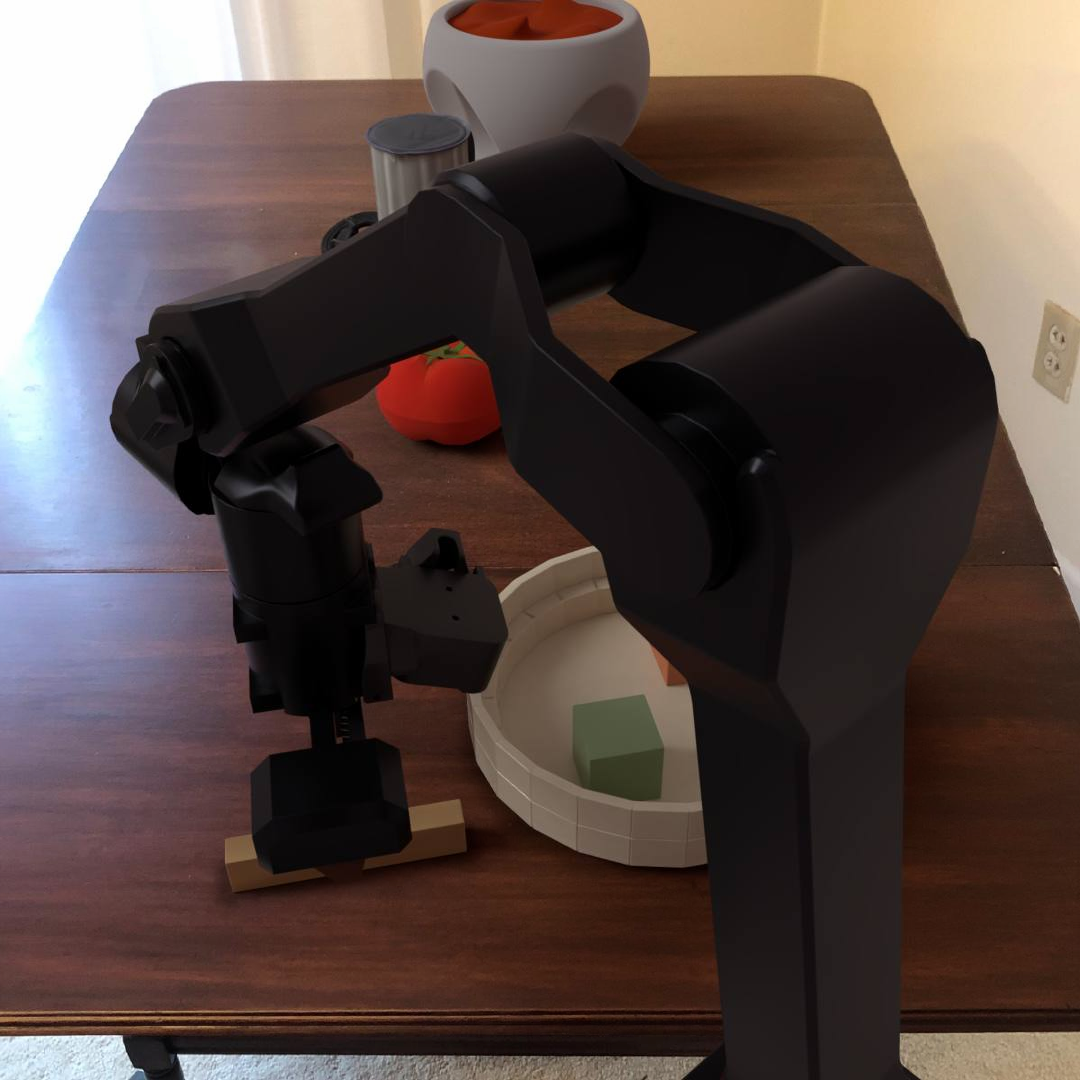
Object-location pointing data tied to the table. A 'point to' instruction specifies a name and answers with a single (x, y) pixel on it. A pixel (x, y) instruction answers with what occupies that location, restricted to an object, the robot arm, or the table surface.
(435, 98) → the pot
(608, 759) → the sage block
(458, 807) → the long tan beam
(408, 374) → the tomato
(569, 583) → the bowl
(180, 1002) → the table surface
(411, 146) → the milk frother
